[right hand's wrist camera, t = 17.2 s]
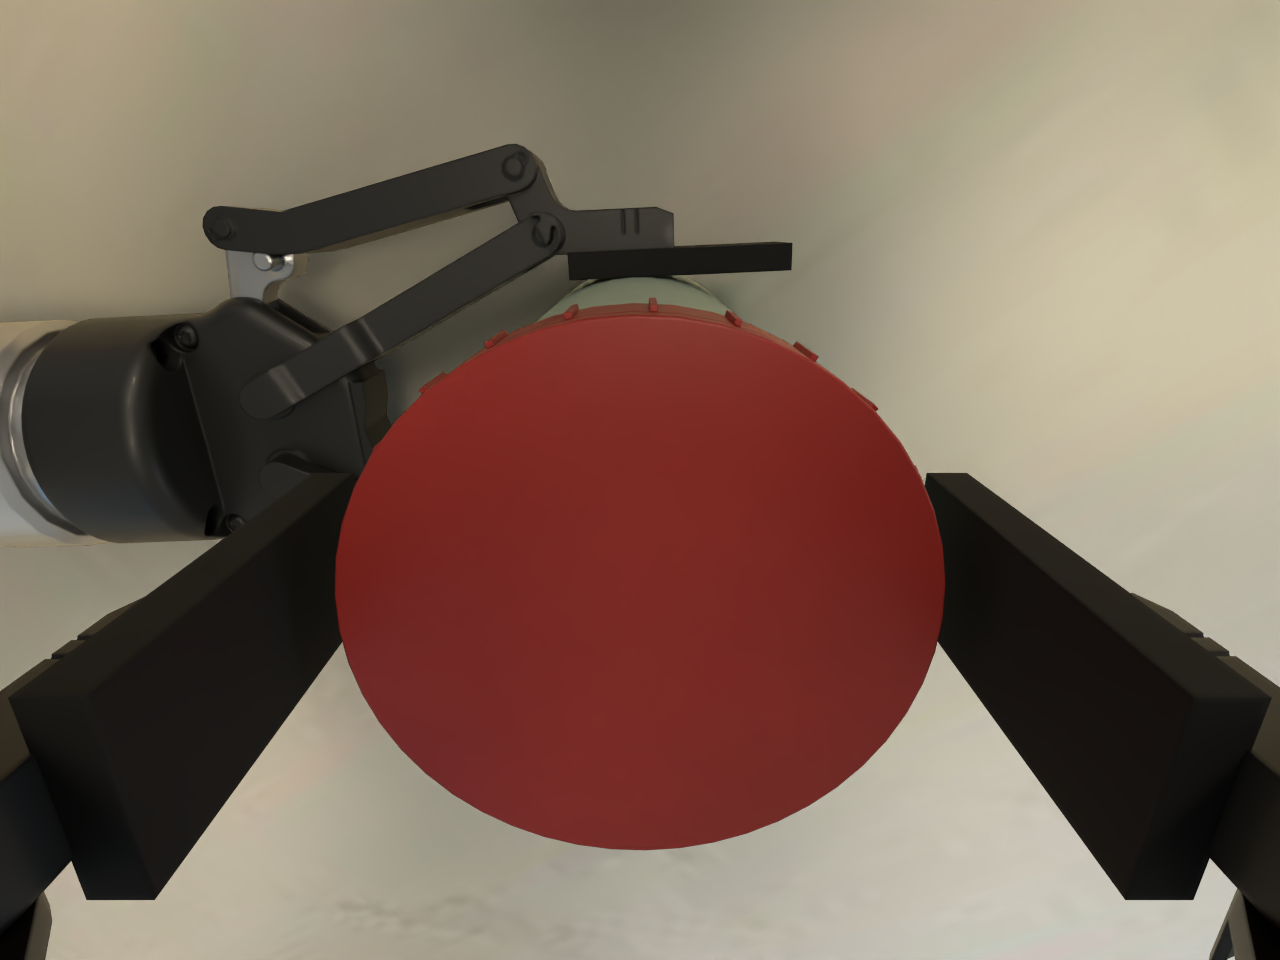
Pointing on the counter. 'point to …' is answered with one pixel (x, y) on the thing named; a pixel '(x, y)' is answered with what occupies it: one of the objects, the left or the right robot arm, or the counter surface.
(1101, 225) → the counter surface
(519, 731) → the lid
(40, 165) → the counter surface
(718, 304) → the jar
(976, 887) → the counter surface
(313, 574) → the right robot arm
